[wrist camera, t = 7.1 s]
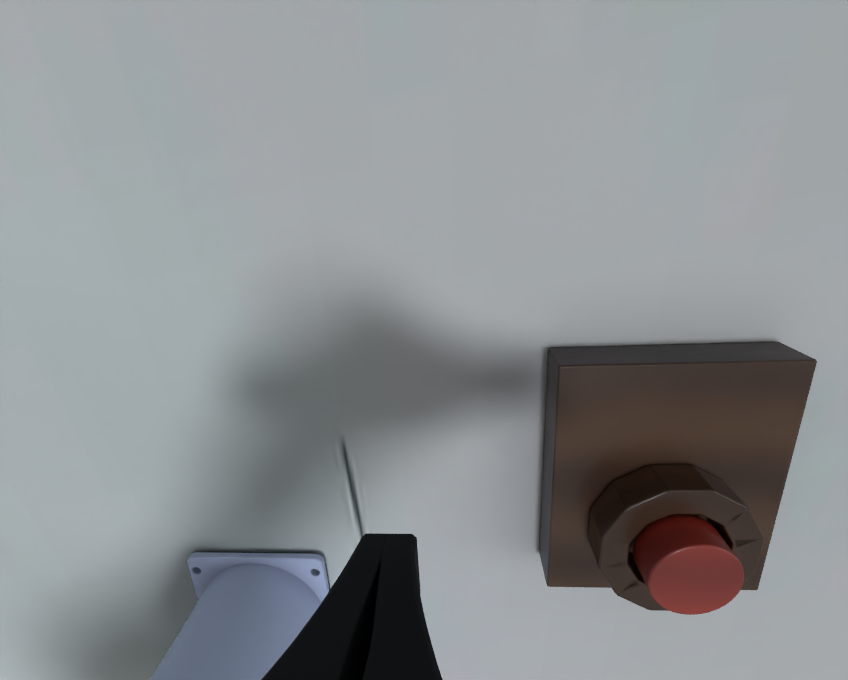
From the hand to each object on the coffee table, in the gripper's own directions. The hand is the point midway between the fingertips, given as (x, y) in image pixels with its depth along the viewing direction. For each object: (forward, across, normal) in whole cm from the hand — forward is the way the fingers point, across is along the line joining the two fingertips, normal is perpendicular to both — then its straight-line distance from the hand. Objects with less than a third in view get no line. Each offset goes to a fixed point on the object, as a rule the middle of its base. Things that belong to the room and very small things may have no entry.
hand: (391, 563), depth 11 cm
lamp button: (+7, -11, +6) cm, 14 cm away
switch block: (+10, -11, +4) cm, 16 cm away
